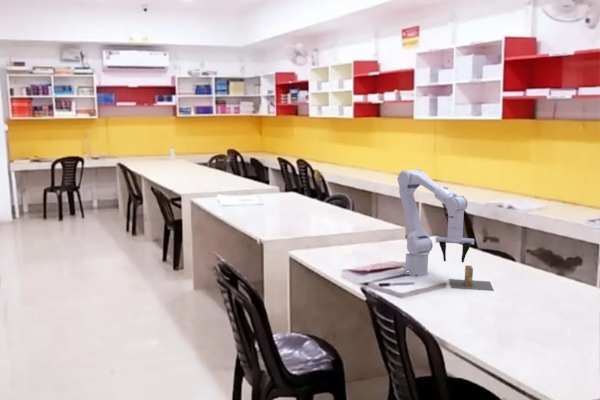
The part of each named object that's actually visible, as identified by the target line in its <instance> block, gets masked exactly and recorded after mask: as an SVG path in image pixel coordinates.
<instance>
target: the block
mask: <svg viewBox="0 0 600 400" xmlns="http://www.w3.org/2000/svg"><path fill="white" fill-rule="evenodd" d="M473 273H474V268H473V266H472V265H465V268H464V280H465V286H471V287H472V280H473Z"/></svg>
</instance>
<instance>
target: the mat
mask: <svg viewBox="0 0 600 400" xmlns="http://www.w3.org/2000/svg"><path fill="white" fill-rule="evenodd" d="M448 282H449V285H450V286H449V287H450V289H458V290H473V291H485V292H486V291H490V292H494V291H495V290H494V287H493V285H492V283H491V281H487V280H486V281H485V280H473V279H472V287H471V286H465V279H454V278H448Z"/></svg>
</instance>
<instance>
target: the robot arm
mask: <svg viewBox="0 0 600 400" xmlns="http://www.w3.org/2000/svg"><path fill="white" fill-rule="evenodd" d="M396 179H397V183H398V188H399V189H398V191H399V192H398V193H399V196H400V201H401V204H402V208H403V211H404V216H405V220H406V223H407V227H408V230H409V233H408V235H407V236H406V238H405V239H406V243H407V244H406V249H407V251H408V253H405V263H404V264H405V266H404V270H403V271H404V275H405V274H409V275H413V276H412V277H415V276H414V275H417V276H416V277H423V276H425V277H427V278H428V277H429V271H428V270H429V269H428V268H429V267H428V265H429V255H430V252H432V250H433V247H434V245H433V241H432V239H431V238H430V235H429V233H428V232H426V231H425V230H424V229H423V225H422V221H421V218H420V213H419V210H418V207H417V202H416V200H415V199H416V198H415V195H414V193H415V191H416V190H417V189H418V188H419V187H420V186H422V187H423V188H425V189H427V190H428V191H430V192H432V193H433V194H434V198H435V199H436V200H438V201H439V202H441V204H443V205H445V208H446V210H447V215H448V219H447V234H446V235H447V236H435V243H437V244H438V243H439V246H440V249H441V252H442V259H443V262H446V260H447V257H446V256H447V255H446V254H447V253H446V251H447V244H461V245H462V251H461V252H462V253H461V263H465V259H466V256H467V254H468V251H469V250H470V248H471V246H472V245H473V246H474V245H475V239H474V238H468V237H463V236H464V235H463V234H464V232H463V231H464V215H465V210H466V209H467V207H468V199H466V197H465V196H464V195H458V194H457V193H456V192H453V191H452V190H451V189H449V187H448V185H441V186H440V185H439V184H437V183H436V182H435V181H434V180H433V179H431V178H430V177H429V176H428V175H427V174H426V172H425V171H423V170H422V169H419V168H418V169H417V168H416V169H409V170H408V169H407V170H401V171H400V172H399V174H398V176H397V178H396ZM407 271H409V272H407ZM425 277H424V278H425Z"/></svg>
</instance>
